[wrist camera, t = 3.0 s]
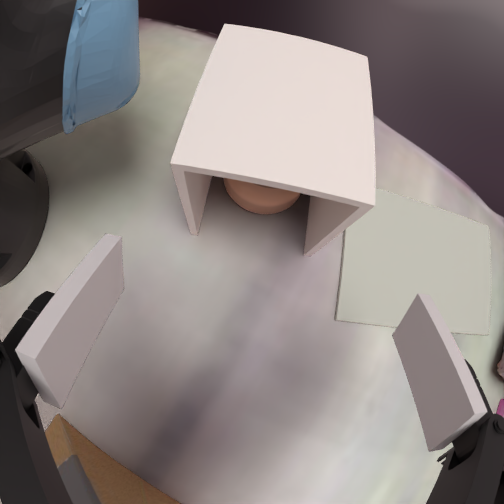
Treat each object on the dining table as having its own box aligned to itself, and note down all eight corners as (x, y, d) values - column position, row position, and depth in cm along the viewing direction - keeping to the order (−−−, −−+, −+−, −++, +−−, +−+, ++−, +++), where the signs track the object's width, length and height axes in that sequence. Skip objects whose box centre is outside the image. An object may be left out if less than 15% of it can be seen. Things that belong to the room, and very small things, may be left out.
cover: (190, 234, 25) (170, 163, 14) (220, 120, 28) (224, 23, 17) (310, 256, 26) (375, 205, 14) (321, 141, 29) (367, 56, 17)
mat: (334, 320, 25) (336, 319, 25) (347, 181, 28) (348, 180, 28) (486, 335, 26) (488, 335, 26) (486, 227, 29) (488, 226, 29)
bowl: (215, 209, 26) (215, 184, 21) (231, 142, 28) (234, 109, 23) (295, 225, 27) (312, 203, 22) (304, 157, 28) (318, 127, 23)
